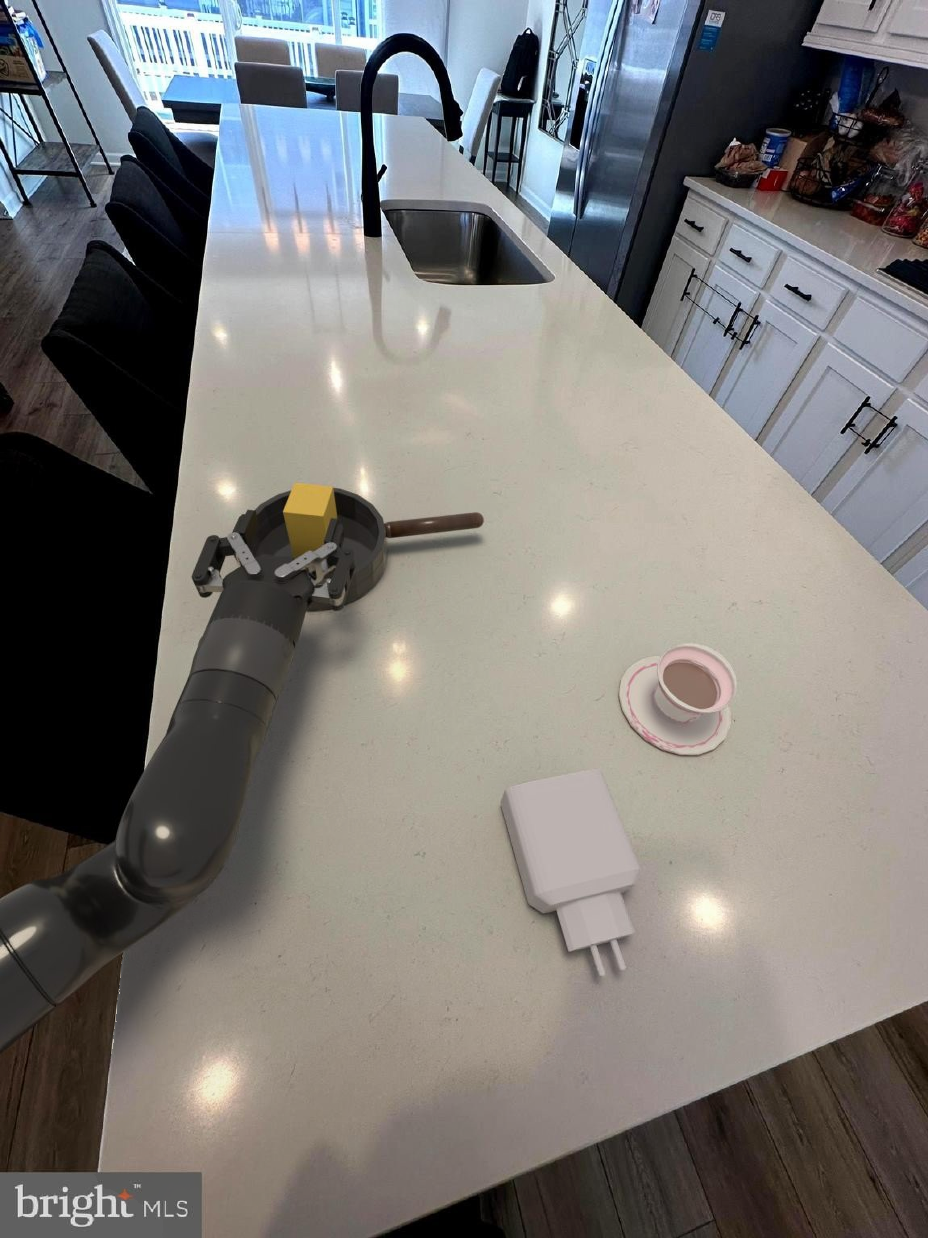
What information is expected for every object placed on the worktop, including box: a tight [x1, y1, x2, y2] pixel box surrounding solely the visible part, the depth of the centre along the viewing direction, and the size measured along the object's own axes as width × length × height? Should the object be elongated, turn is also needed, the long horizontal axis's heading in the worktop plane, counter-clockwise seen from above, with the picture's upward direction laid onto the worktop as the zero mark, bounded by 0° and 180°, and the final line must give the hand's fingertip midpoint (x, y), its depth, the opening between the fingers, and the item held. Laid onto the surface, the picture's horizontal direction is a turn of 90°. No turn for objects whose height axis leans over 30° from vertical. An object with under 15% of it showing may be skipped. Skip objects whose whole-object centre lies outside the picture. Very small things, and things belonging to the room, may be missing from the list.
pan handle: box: [384, 511, 485, 539], centre depth 70 cm, size 13×2×2 cm, turn 104°
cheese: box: [283, 482, 337, 572], centre depth 65 cm, size 5×4×9 cm
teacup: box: [618, 642, 738, 756], centre depth 58 cm, size 12×12×6 cm
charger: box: [500, 768, 642, 978], centre depth 47 cm, size 5×9×15 cm
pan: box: [249, 487, 388, 612], centre depth 67 cm, size 17×17×4 cm
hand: (295, 520), depth 58 cm, fingers open, 8 cm apart
